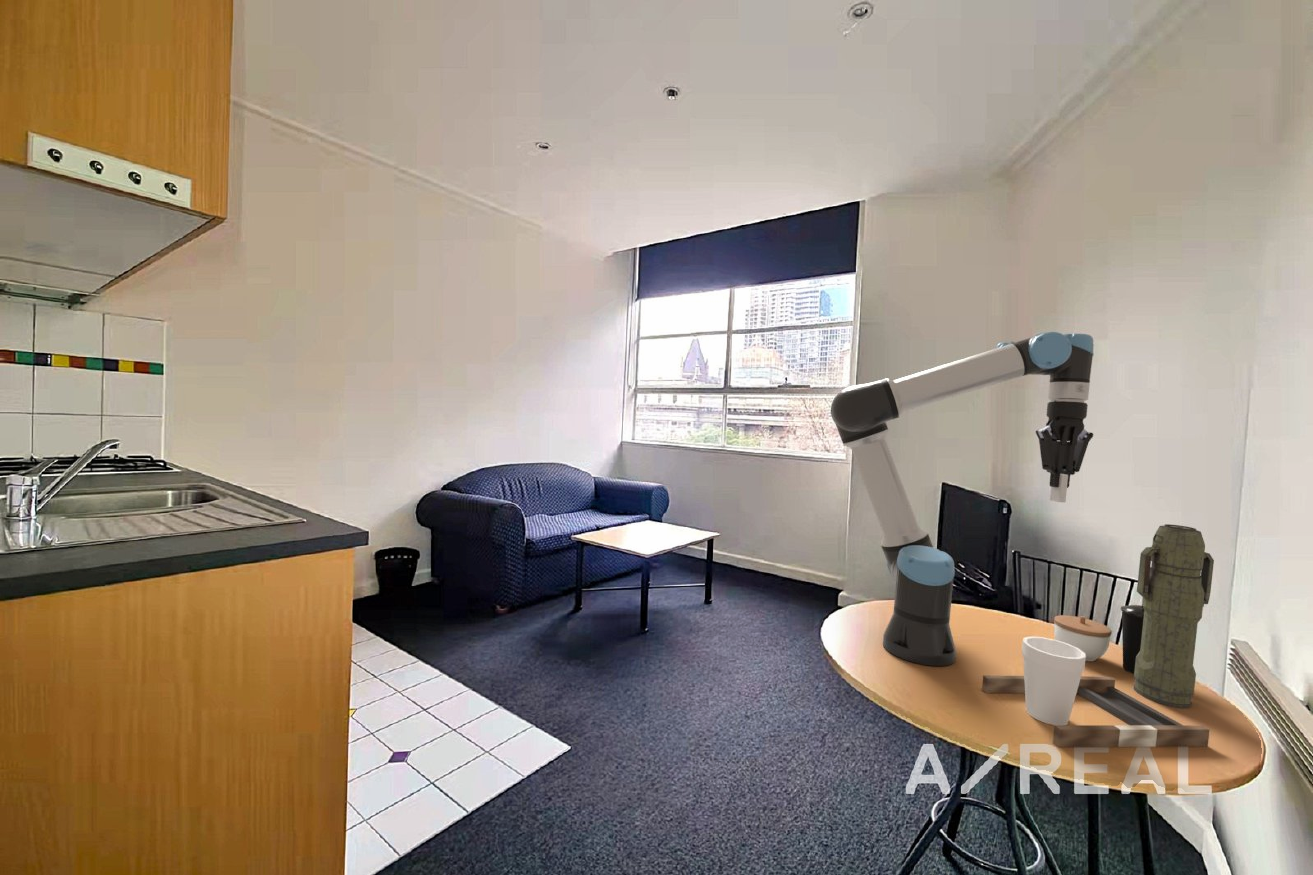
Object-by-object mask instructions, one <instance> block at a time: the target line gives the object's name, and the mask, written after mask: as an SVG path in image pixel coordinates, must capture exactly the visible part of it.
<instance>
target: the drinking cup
mask: <svg viewBox="0 0 1313 875" xmlns="http://www.w3.org/2000/svg"><path fill="white" fill-rule="evenodd" d="M1141 598H1142V599H1141V601H1142V600H1143V597H1141ZM1120 610H1121V624H1122V625H1121V626H1122V627H1121V630H1122V634H1121V635H1122V668H1123V670H1124V671H1126V672H1128V673H1131V674H1133V675H1134V672H1135V662H1136V656H1137V655H1138V653H1139V652H1140V648H1141V639H1142V630H1143V620H1144V608H1143V606H1142V604H1141V605H1140V604H1139V605H1138V604H1131V605H1121V607H1120Z"/></svg>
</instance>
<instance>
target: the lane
mask: <svg viewBox="0 0 1313 875" xmlns="http://www.w3.org/2000/svg"><path fill="white" fill-rule="evenodd" d="M981 683H982V684H981V691H983V692H984V693H985V694H1025V682H1024V675H996V674H995V675H992V674H991V675H988V674H987V675H984V674H983V676H982V682H981ZM1115 685H1116V679H1115V678H1113V677H1112V676H1084V675H1083V676H1082V675H1081V679H1080V682H1079V686H1078V689H1077V693H1076V695H1080V697H1082V698H1084V699H1086V700H1088V701H1089V702H1091V703H1093V704H1094V705H1096V706H1097V707H1099V708H1101V709H1102V710H1104V711H1105V712H1108V713H1109V714H1110V715H1112V716H1114V717H1116V718H1117V719H1119V720H1120V721H1123V722H1124V723H1126V724H1125V725H1122V724H1121V725H1119V724H1117V725H1115V724H1114V725H1113V724H1112V725H1110V724H1109V725H1098V724H1097V725H1096V724H1095V725H1094V724H1093V725H1091V724H1089V725H1086V724H1085V725H1081V724H1080V725H1073V724H1072V725H1071V724H1070V725H1069V724H1067V725H1053V726H1054V727H1053V735H1052V744H1054V745H1055V746H1057V747H1058V748H1089V747H1090V748H1112V747H1113V748H1119V747H1120V748H1127V747H1128V748H1133V747H1134V748H1141V747H1143V748H1145V747H1146V748H1147V747H1149V748H1150V747H1151V748H1153V747H1154V748H1156V747H1157V748H1158V747H1159V748H1161V747H1164V748H1165V747H1175V748H1176V747H1181V748H1182V747H1186V748H1187V747H1191V748H1192V747H1209V737H1210V728H1208V727H1206V726H1204V725H1200V724H1199V725H1194V724H1193V725H1190V724H1189V725H1188V724H1187V725H1185V724H1182V723H1180V722H1178V721H1176V720H1174V719H1173V718H1171V717H1169V716H1168V715H1165V714H1163V713H1161V711H1158V710H1156V709H1155V708H1152V707H1150V706H1149V705H1147V704H1145V703H1144V702H1141V701H1140V700H1138V699H1136V698H1134V697H1132V696H1131V695H1128V694H1127V693H1125V692H1123V691H1122V690H1120V689H1117V688H1115ZM1127 724H1128V725H1127Z"/></svg>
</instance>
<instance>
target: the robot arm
mask: <svg viewBox="0 0 1313 875" xmlns="http://www.w3.org/2000/svg"><path fill="white" fill-rule="evenodd" d="M1094 346H1095V345H1094V338H1093V336H1091V334H1087V333H1064V334H1063V333H1062V332H1056V331H1047V332H1046V331H1045V332H1042V333H1039V334H1037V335H1034V336H1032V337H1028V338H1025V339H1022V340H1019V341H1016V342H1015V341H1009V342H999V343H998V344H997V345H996V346H995V348H993V349H991V350H987V351H984V352H980V353H977V354H975V355H971V356H968V357H965V358H962V359H958V360H955V361H952V362H949V363H946V364H942V365H938V366H935V367H933V368H929V369H925V370H924V371H920V372H916V373H913V374H911V375H906V376H904V377H900V378H898V379H893V380H892V379H889V378H883V379H880V380H877V381H873V382H868V383H861V384H853V385H849V386H847V387H845V388H843V389H842V390H840V391H839V393H837V394H836V395H835V396H834V398H833V400H832V401H831V402H832V403H831V406H830V415H831V418H832V420H833V422H834V424H835V426H836V428H837V432H838V434H839V438H840V439H841V442H842V444H843V446H845V447H847V448H849V449H850V450H851V452H852V454H853V458H854V459H855V462H856V465H857V468H858V471H859V473H860V475H861V478H862V481H863V484H864V487H865V489H866V492H867V494H868V497H869V500H870V503H871V506H872V507H873V510H874V513H875V516H876V519H877V521H878V524H879V527H880V530H881V532H882V535H883V537H882V539H881V541H880V547H881V549H882V552H883V556H884V558H885V560H886V565H887V569H888V571H889V573H890V575H891V576H892V578H893V581H894V583H895V590H894V591H895V592H894V600H893V602H894V603H893V612H892V613H893V614H892V615H891V618H890V620H889V622H888V624H887V626H886V629H885V630H884V633H883V636H882V638H883V639H882V645H883V647H884V649H885V651H886V650H887V651H888V652H889V653H890V654H892V655H894V656H896V657H897V658H901V659H903V660H905V661H908V662H911V663H913V664H919V665H922V666H923V665H925V666H931V667H932V666H933V667H946V666H951V665H952V664H954V663H955V661H956V655H957V652H956V650H957V649H956V646H955V641H954V637H953V634H952V630H951V627H950V626H951V625H950V620H951V619H950V617H951V609H952V608H951V607H952V598H953V597H952V596H953V589H954V588H953V587H954V577H955V573H956V569H955V562H954V559H953V557H952V556H951V555H949V554H948V553H947V552H945V551H941V550H940V549H938V548H935V547H934V545H933V543H932V541H931V537H930V535H929V533H928V531H927V530H926V529H925V528H921V527H920V526H919V525H918V521H917V519H916V516H915V514H914V511H913V509H912V506H911V503H910V501H909V498H908V495H907V493H906V491H905V488H904V485H903V482H902V479H901V477H900V474H899V471H898V469H897V466H896V464H895V461H894V459H893V456H892V453H891V450H890V448H889V445H888V443H887V441H886V440H887V439H886V436H887V435H888V432H889V428H888V425H887V422H888V421H889V422H890V421H891V420H896V419H898V418H900V417H901V416H902V414H904V412H906V411H910V410H913V409H917V408H919V407H923V406H927V405H931V404H933V403H937V402H940V401H943V400H947V399H950V398H954V397H956V396H960V395H964V394H967V393H971V392H973V391H977V390H981V389H984V388H986V387H987V388H988V387H990V386H994V385H997V384H1001V383H1004V382H1007V381H1008V382H1009V381H1011V380H1014V379H1017V378H1020V377H1023V376H1024V377H1025V376H1029V375H1034V376H1035V375H1036V376H1037V375H1039V376H1040V375H1042V376H1049V378H1050V379H1049V385H1048V386H1049V387H1048V394H1047V395H1048V397H1047V399H1048V400H1050V401H1049V402H1047V404H1046V405H1047V407H1046V417H1047V418H1048V420H1047V422H1046V424H1045V427H1043V428H1041V429H1039V428H1037V429H1036V430H1035V434H1036V436H1037V438H1038V442H1039V450H1040V458H1041V466H1042V468H1041V469H1043V470H1045V471H1046V472H1047V473H1050V475H1049V476H1050V477H1049V487H1050V488H1051V489H1050V497H1049V501H1052V502H1057V503H1066V501H1067V500H1066V499H1067V490H1068V489H1069V488H1070V481H1071V476H1074V475H1075V474H1076V473H1078V472H1080V469H1081V467H1082V464H1083V461H1084V459H1085V458H1084V457H1085V455H1086V451H1087V448H1088V446H1089V442H1090V441H1091V440H1092V439H1093V437H1094V433H1093V432H1090V431H1087V430H1086V429H1085V424H1084V419H1086V418H1087V415H1088V403H1087V402H1086V401H1088V400H1089V395H1090V383H1091V373H1092V366H1093V358H1094Z"/></svg>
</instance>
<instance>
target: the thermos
mask: <svg viewBox="0 0 1313 875" xmlns="http://www.w3.org/2000/svg"><path fill="white" fill-rule="evenodd" d="M1205 551H1206V543H1205V540H1204V538H1203V534H1202V531H1201V530H1197V528H1195V527H1191V526H1185V525H1184V526H1183V525H1179V524H1178V525H1177V524H1163V525H1159V526H1158V528H1157V529H1156V531H1155V533H1154V535H1153V537H1152V545H1151V546H1147V547H1144V549H1143V550H1142V551H1141V552H1140V556H1139V557H1140V558H1139V564H1138V565H1139V567H1138V577H1137V584H1136V585H1137V587H1136V592H1137V593H1138V594H1139V595H1140V596H1141V598H1143V600H1142V599H1141V606H1143V608H1144V620H1143V630H1142V639H1141V648H1140V652H1139V653H1138V655H1137V656H1136V662H1135V672H1134V674H1133V678H1134V684H1133V690H1134V691H1135V692H1136V693H1137V694H1138V695H1140V696H1142V697H1143V698H1146V699H1148V700H1150V701H1153V702H1155V703H1157V704H1160V705H1165V706H1168V707H1173V708H1180V709H1189V708H1191V707H1192V703H1193V702H1192V699H1193V695H1194V694H1195V686H1196V679H1197V678H1196V677H1197V673H1196V670H1195V668H1194V659H1195V651H1196V643H1197V642H1196V640H1197V631H1198V623H1199V622H1200V621H1201V619H1202V617H1203V610H1204V606H1205V605H1208V604H1209V602H1210V601H1209V600H1210V597H1211V591H1212V589H1211V588H1212V582H1213V580H1212V579H1213V572H1214V562H1215V560H1214V558H1213V557H1212V555H1211V554H1210V553H1208V552H1205Z"/></svg>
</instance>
